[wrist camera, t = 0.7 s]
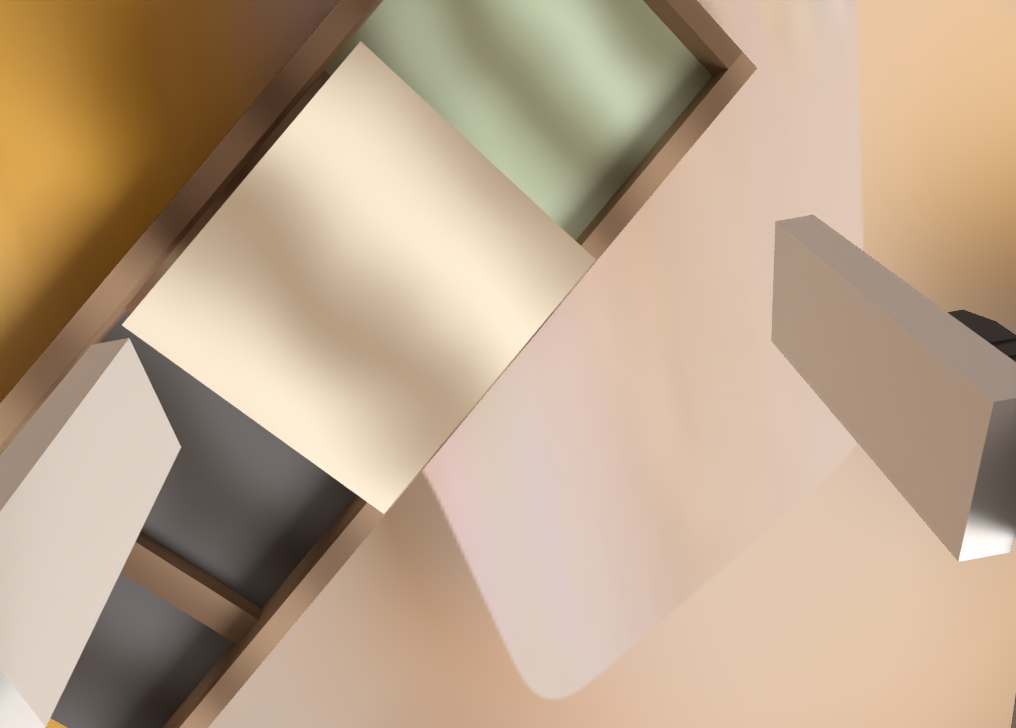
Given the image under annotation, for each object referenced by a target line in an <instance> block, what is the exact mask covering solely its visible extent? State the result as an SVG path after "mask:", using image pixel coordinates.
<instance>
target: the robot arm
mask: <svg viewBox="0 0 1016 728" xmlns="http://www.w3.org/2000/svg"><path fill="white" fill-rule="evenodd" d="M771 341H772V342H773V343H774V344H775V345H776V347H777V348H778V349H779V350H780V351H781V353H782V354H783V355H784V356H785V357H786V358H787V360H788V361H789V362H790V363H791V364H792V366H793V367H794V368H795V369H796V370H797V371H798V373H799V374H800V375H801V376H802V377H803V379H804V380H805V381H806V382H807V383H808V384H809V386H810V387H811V388H812V389H813V390H814V392H815V393H816V394H817V395H818V396H819V397H820V399H821V400H822V401H823V402H824V403H825V405H826V406H827V407H828V408H829V409H830V410H831V412H832V413H833V414H834V415H835V416H836V418H837V419H838V420H839V421H840V422H841V423H842V425H843V426H844V427H845V428H846V429H847V431H848V432H849V433H850V434H851V435H852V436H853V438H854V439H855V440H856V441H857V442H858V444H859V445H860V446H861V447H862V448H863V449H864V451H865V452H866V453H867V454H868V455H869V456H870V458H871V459H872V460H873V461H874V462H875V464H876V465H877V466H878V467H879V468H880V470H881V471H882V472H883V473H884V474H885V475H886V477H887V478H888V479H889V480H890V481H891V482H892V484H893V485H894V486H895V487H896V488H897V490H898V491H899V492H900V493H901V494H902V496H903V497H904V498H905V499H906V500H907V501H908V503H909V504H910V505H911V506H912V507H913V508H914V510H915V511H916V512H917V513H918V514H919V516H920V517H921V518H922V519H923V520H924V521H925V523H926V524H927V525H928V526H929V527H930V528H931V530H932V531H933V532H934V533H935V535H936V536H937V537H938V538H939V539H940V540H941V542H942V543H943V544H944V545H945V546H946V547H947V549H948V550H949V551H950V552H951V553H952V555H953V556H954V557H955V558H956V559H957V561H965V560H970V559H976V558H981V557H987V556H992V555H997V554H1003V553H1008V552H1011V551H1012V548H1013V544H1014V540H1015V537H1016V335H1015V334H1013V333H1012V332H1010V331H1009V330H1008V329H1006V328H1005V327H1003V326H1002V325H1000V324H999V323H997V322H996V321H993V320H990V319H988V318H985V317H982V316H979V315H976V314H973V313H971V312H968V311H965V310H958V311H953V312H946V311H945V310H943V309H942V308H941V307H939V306H938V305H936V304H935V303H934V302H932V301H931V300H930V299H928V298H927V297H925V296H924V295H923V294H921V293H920V292H919V291H917V290H916V289H914V288H913V287H912V286H910V285H909V284H907V283H906V282H905V281H903V280H902V279H901V278H899V277H898V276H897V275H895V274H894V273H892V272H891V271H890V270H888V269H887V268H885V267H884V266H883V265H881V264H880V263H879V262H877V261H876V260H875V259H873V258H872V257H870V256H869V255H867V254H866V253H865V252H864V251H862V250H861V249H859V248H858V247H857V246H855V245H854V244H853V243H851V242H850V241H848V240H847V239H846V238H844V237H843V236H842V235H840V234H839V233H837V232H836V231H835V230H833V229H832V228H831V227H829V226H828V225H826V224H825V223H824V222H822V221H821V220H820V219H818V218H817V217H815V216H814V215H809V216H804V217H798V218H793V219H787V220H782V221H776V222H775V250H774V279H773V309H772V338H771ZM180 449H181V446H180V444H179V442H178V439H177V437H176V435H175V433H174V431H173V429H172V427H171V425H170V423H169V421H168V418H167V416H166V414H165V412H164V410H163V408H162V406H161V404H160V402H159V399H158V397H157V395H156V393H155V391H154V389H153V387H152V385H151V383H150V381H149V378H148V376H147V374H146V372H145V370H144V368H143V366H142V364H141V362H140V360H139V357H138V355H137V353H136V351H135V349H134V347H133V345H132V343H131V341H130V338H126V339H121V340H115V341H109V342H104V343H98V344H93V345H91V346H90V347H89V348H88V350H87V351H86V352H85V353H84V354H83V356H82V357H81V358H80V359H79V360H78V362H77V363H76V364H75V365H74V367H73V368H72V369H71V370H70V371H69V373H68V374H67V375H66V376H65V377H64V379H63V380H62V381H61V382H60V384H59V385H58V386H57V387H56V388H55V390H54V391H53V392H52V393H51V394H50V396H49V397H48V398H47V399H46V401H45V402H44V403H43V404H42V405H41V407H40V408H39V409H38V410H37V411H36V413H35V414H34V415H33V416H32V418H31V419H30V420H29V421H28V422H27V424H26V425H25V426H24V427H23V428H22V430H21V431H20V432H19V433H18V435H17V436H16V437H15V438H14V439H13V441H12V442H11V443H10V444H9V445H8V447H7V448H6V449H5V450H4V452H3V453H2V454H1V455H0V728H44V727H46V726H47V724H48V722H49V720H50V718H51V715H52V713H53V711H54V709H55V707H56V705H57V703H58V701H59V699H60V697H61V695H62V693H63V691H64V689H65V686H66V684H67V682H68V680H69V678H70V676H71V674H72V672H73V670H74V668H75V666H76V664H77V662H78V660H79V658H80V655H81V653H82V651H83V649H84V647H85V645H86V643H87V641H88V639H89V637H90V635H91V633H92V631H93V629H94V626H95V624H96V622H97V620H98V618H99V616H100V614H101V612H102V610H103V608H104V606H105V604H106V602H107V600H108V598H109V595H110V593H111V591H112V589H113V587H114V585H115V583H116V581H117V579H118V577H119V575H120V573H121V571H122V569H123V566H124V564H125V562H126V560H127V558H128V556H129V554H130V552H131V550H132V548H133V546H134V544H135V542H136V540H137V537H138V535H139V533H140V531H141V529H142V527H143V525H144V523H145V521H146V519H147V517H148V515H149V513H150V511H151V509H152V506H153V504H154V502H155V500H156V498H157V496H158V494H159V492H160V490H161V488H162V486H163V484H164V482H165V480H166V477H167V475H168V473H169V471H170V469H171V467H172V465H173V463H174V461H175V459H176V457H177V455H178V453H179V451H180ZM1011 728H1016V697H1015V705H1014V712H1013V718H1012V725H1011Z"/></svg>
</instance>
